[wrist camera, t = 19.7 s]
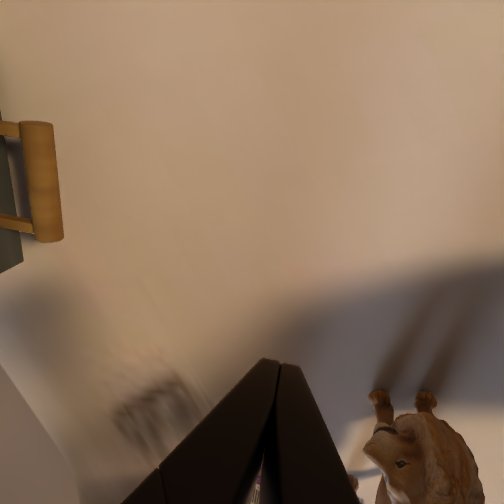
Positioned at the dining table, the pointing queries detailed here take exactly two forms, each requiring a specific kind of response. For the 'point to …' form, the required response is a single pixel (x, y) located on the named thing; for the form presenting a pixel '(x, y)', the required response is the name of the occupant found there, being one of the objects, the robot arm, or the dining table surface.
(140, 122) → the dining table surface
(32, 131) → the drawer
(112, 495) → the dining table surface
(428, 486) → the lion figurine
